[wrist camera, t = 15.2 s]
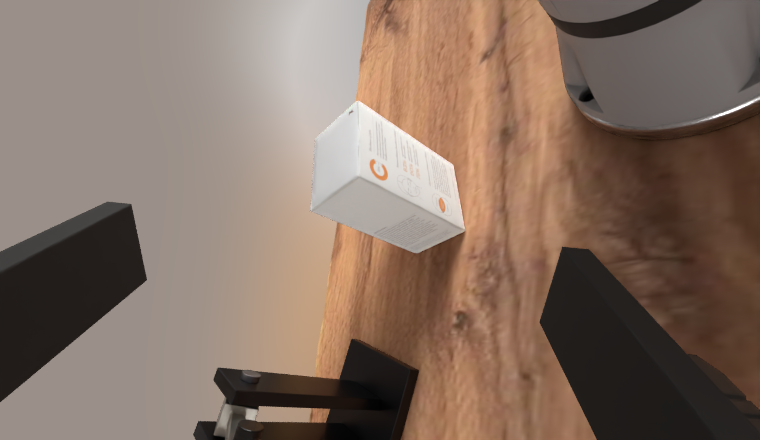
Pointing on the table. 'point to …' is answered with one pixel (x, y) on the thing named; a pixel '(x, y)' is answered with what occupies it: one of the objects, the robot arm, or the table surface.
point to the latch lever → (238, 422)
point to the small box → (384, 182)
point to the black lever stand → (328, 398)
